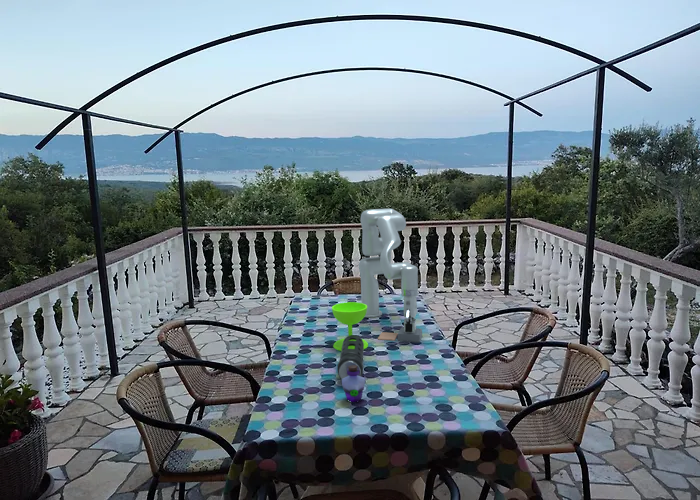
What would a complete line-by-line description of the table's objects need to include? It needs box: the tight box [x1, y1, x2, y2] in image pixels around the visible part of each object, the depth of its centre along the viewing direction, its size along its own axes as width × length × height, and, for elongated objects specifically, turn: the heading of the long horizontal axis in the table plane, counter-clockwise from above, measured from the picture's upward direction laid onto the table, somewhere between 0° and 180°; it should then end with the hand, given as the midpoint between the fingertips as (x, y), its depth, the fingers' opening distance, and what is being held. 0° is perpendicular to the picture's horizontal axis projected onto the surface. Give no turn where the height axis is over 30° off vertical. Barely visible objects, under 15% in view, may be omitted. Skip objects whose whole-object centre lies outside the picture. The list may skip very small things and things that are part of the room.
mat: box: [377, 331, 398, 342], centre depth 225 cm, size 8×9×1 cm
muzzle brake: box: [336, 334, 365, 380], centre depth 187 cm, size 10×28×10 cm, turn 177°
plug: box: [403, 317, 417, 333], centre depth 221 cm, size 5×4×9 cm
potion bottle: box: [341, 365, 366, 402], centre depth 163 cm, size 9×9×12 cm
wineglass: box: [331, 301, 369, 352], centre depth 214 cm, size 16×16×18 cm
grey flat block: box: [397, 327, 423, 343], centre depth 221 cm, size 10×9×4 cm
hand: (410, 328), depth 221 cm, fingers open, 7 cm apart
